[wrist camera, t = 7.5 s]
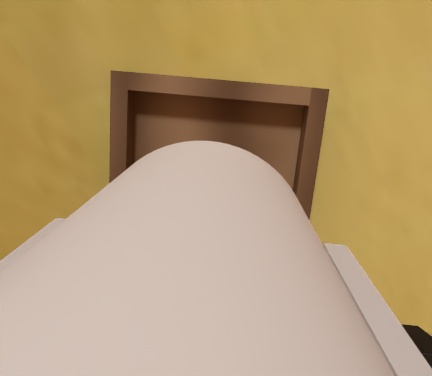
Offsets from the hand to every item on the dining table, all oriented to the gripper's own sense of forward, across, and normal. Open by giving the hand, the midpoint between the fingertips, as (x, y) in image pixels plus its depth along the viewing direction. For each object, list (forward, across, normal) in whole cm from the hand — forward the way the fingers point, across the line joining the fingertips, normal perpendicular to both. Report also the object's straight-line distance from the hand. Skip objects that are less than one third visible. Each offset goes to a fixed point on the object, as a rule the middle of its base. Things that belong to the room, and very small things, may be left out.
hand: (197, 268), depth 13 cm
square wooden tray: (+13, 0, 0) cm, 13 cm away
